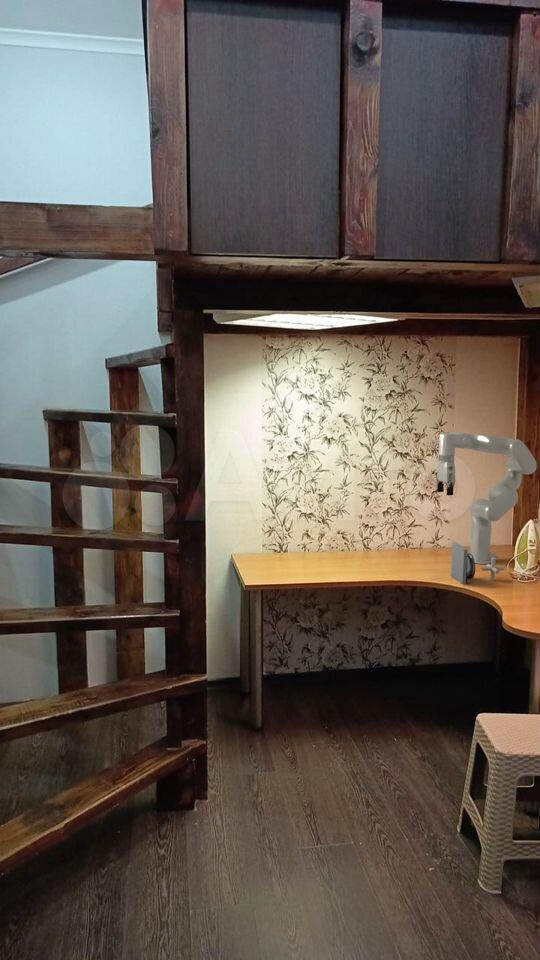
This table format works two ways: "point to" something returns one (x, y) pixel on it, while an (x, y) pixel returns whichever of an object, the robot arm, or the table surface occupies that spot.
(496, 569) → the pipe connector
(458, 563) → the mounting panel
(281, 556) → the table surface
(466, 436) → the robot arm
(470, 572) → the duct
